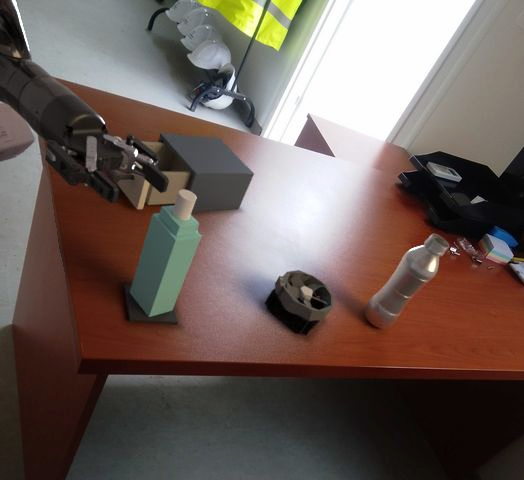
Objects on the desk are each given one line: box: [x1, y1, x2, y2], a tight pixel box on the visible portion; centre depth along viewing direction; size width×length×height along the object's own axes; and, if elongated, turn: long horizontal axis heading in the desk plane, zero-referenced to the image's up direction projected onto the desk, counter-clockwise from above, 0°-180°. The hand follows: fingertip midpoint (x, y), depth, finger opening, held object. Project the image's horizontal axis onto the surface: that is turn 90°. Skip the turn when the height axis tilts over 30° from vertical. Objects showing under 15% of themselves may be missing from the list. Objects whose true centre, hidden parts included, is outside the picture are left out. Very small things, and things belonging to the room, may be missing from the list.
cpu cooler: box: [263, 269, 335, 337], centre depth 80 cm, size 10×6×10 cm
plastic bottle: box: [364, 233, 450, 329], centre depth 84 cm, size 6×7×20 cm
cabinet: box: [157, 132, 255, 213], centre depth 91 cm, size 15×13×9 cm
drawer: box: [104, 136, 193, 210], centre depth 83 cm, size 18×11×7 cm, turn 132°
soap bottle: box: [130, 189, 202, 317], centre depth 61 cm, size 4×5×18 cm
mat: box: [123, 283, 179, 325], centre depth 67 cm, size 7×7×1 cm
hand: (142, 191), depth 59 cm, fingers open, 8 cm apart
